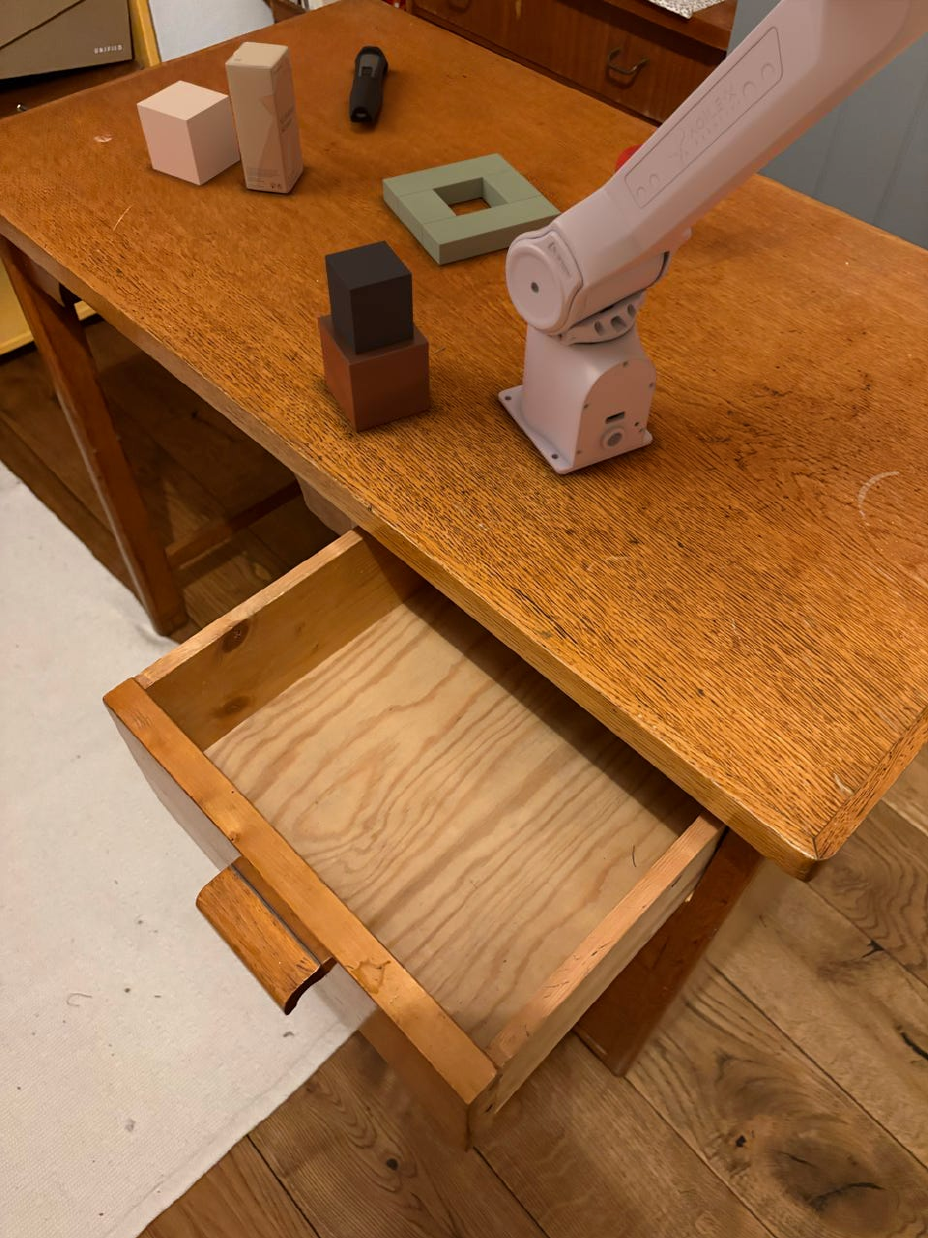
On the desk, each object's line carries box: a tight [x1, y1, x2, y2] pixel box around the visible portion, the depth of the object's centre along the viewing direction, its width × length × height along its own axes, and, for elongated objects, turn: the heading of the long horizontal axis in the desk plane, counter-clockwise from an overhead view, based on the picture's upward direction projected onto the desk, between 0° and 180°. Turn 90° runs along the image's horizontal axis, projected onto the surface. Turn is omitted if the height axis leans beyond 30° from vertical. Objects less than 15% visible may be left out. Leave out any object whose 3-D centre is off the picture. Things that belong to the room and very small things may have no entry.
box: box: [225, 41, 304, 194], centre depth 83 cm, size 5×4×11 cm
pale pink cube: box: [136, 79, 241, 186], centre depth 87 cm, size 6×6×6 cm
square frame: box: [382, 152, 562, 266], centre depth 83 cm, size 12×12×2 cm
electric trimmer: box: [348, 45, 389, 124], centre depth 97 cm, size 4×16×3 cm, turn 179°
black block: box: [324, 240, 414, 354], centre depth 62 cm, size 4×4×5 cm
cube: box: [317, 313, 431, 433], centre depth 66 cm, size 6×6×6 cm
